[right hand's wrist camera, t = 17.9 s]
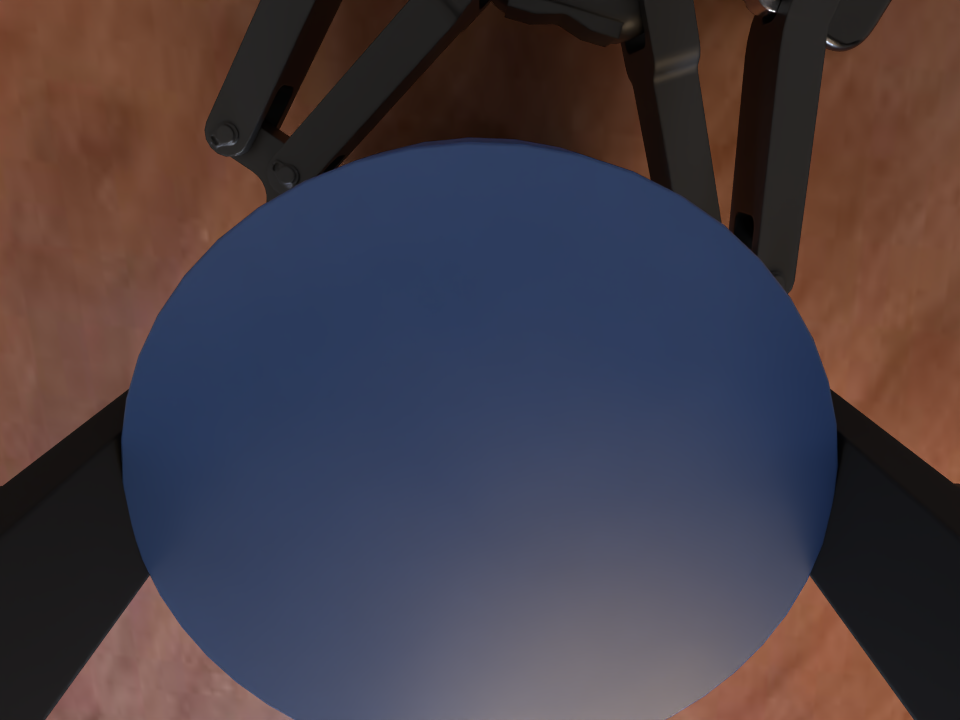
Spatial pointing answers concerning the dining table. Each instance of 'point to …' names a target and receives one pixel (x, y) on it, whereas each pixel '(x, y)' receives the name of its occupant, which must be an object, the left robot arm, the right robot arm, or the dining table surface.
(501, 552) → the lid
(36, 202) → the dining table surface
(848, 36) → the smartphone
